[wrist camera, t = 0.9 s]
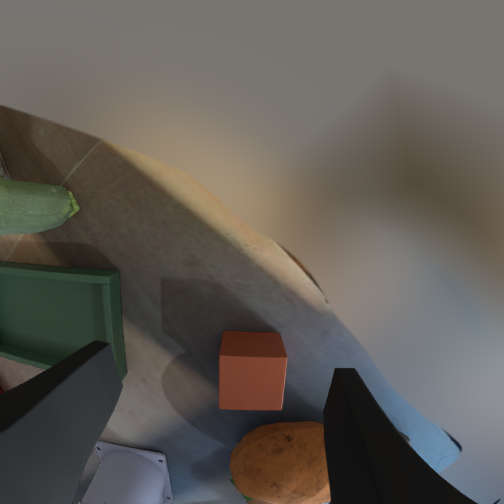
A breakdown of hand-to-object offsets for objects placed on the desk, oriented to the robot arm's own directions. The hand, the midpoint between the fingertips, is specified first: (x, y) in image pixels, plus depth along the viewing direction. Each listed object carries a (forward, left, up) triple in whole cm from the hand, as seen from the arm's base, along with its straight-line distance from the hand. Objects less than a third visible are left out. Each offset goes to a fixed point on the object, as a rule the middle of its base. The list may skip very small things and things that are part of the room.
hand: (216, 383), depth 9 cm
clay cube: (-6, -2, -15) cm, 16 cm away
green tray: (-4, +17, -15) cm, 23 cm away
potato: (-16, -6, -15) cm, 22 cm away
